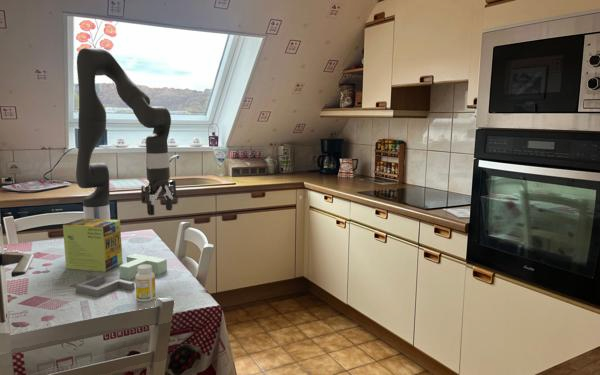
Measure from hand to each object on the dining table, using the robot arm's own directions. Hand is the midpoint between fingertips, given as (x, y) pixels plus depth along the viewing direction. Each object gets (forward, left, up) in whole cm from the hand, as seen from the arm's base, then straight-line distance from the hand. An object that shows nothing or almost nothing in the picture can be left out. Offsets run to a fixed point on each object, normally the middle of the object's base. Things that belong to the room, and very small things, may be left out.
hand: (160, 212), depth 168 cm
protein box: (-19, -12, -18) cm, 29 cm away
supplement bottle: (+18, -26, -18) cm, 37 cm away
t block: (0, -11, -18) cm, 22 cm away
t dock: (0, -27, -18) cm, 33 cm away
